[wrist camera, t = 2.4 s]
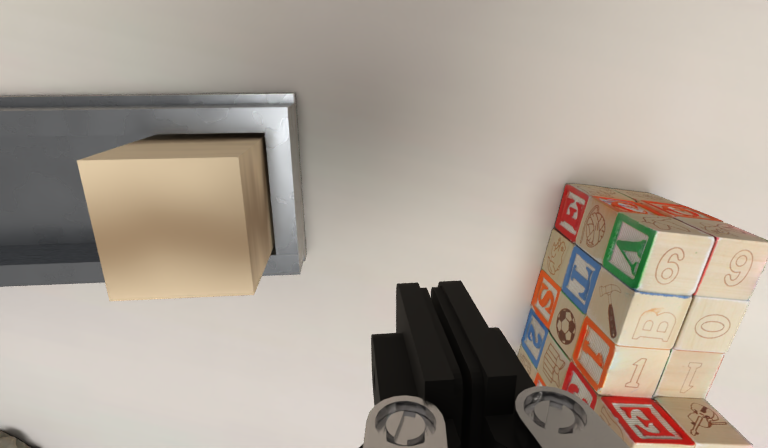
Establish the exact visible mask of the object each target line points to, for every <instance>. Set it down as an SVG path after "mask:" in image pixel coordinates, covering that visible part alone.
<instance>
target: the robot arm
mask: <svg viewBox="0 0 768 448" xmlns="http://www.w3.org/2000/svg"><path fill="white" fill-rule="evenodd" d="M371 350H372V380H373V395H374V405H375V406H374V407H373V409H372V410H371V411H370V412H369V415H368V418H367V421H366V428H365V436H364V444H363V445H362V446H360V447H359V448H630V447H629V446H628V445H627V444H626V443H625V442H624V441H623V440H622V439H621V438H620V437H619V436H618V435H617V434H616V433H615V432H614V431H613V430H612V429H611V428H610V427H609V426H608V425H607V424H606V422H605V421H604V420H603V419H602V418H601V417H600V416H599V415H598V414H597V413H596V412H595V411H594V410H593V409H592V408H591V407H590V406H589V405H588V404H587V403H585V402H584V401H583V400H582V399H580V398H579V397H578V396H576V395H574V394H572V393H570V392H568V391H565V390H562V389H559V388H556V387H548V386H536V385H535V384H534V382H533V380H532V379H531V377H530V376H529V374H528V373H527V371H526V369H525V368H524V366H523V365H522V363H521V362H520V360H519V358H518V357H517V355H516V354H515V352H514V351H513V349H512V347H511V346H510V344H509V343H508V341H507V340H506V338H505V336H504V335H503V333H502V332H501V330H500V329H499V328H496V327H494V328H489V327H488V325H487V324H486V322H485V320H484V319H483V317H482V315H481V314H480V312H479V310H478V309H477V307H476V305H475V304H474V302H473V300H472V299H471V297H470V295H469V293H468V292H467V290H466V288H465V287H464V285H463V283H462V282H461V281H444V282H439V284H438V287H432V289H431V298H430V295H429V293H428V290H427V288H420V286H419V284H418V283H402V284H397V288H396V333H388V334H372V336H371Z"/></svg>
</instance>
